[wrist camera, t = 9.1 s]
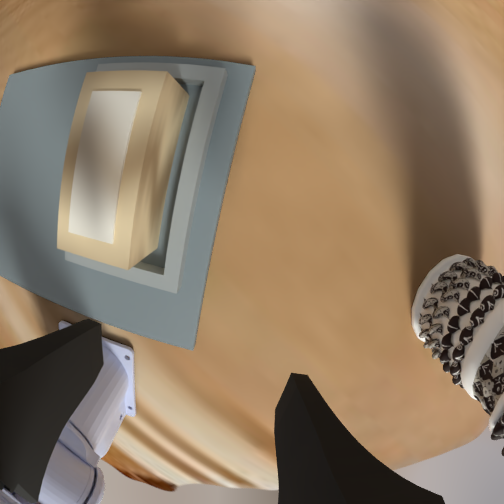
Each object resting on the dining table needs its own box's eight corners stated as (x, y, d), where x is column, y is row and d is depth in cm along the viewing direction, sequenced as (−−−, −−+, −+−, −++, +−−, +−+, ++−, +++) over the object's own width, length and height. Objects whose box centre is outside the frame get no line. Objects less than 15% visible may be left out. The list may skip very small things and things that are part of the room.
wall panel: (195, 344, 20) (187, 365, 18) (-6, 267, 19) (-22, 274, 17) (255, 70, 15) (254, 54, 12) (14, 76, 14) (-3, 72, 11)
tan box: (157, 248, 17) (127, 271, 13) (95, 231, 17) (55, 248, 13) (189, 95, 15) (166, 70, 10) (121, 90, 15) (85, 71, 10)
